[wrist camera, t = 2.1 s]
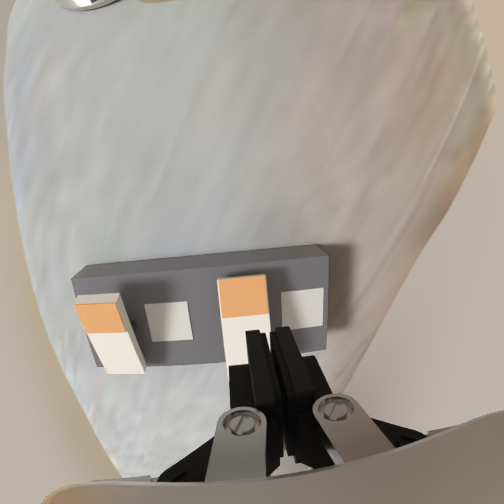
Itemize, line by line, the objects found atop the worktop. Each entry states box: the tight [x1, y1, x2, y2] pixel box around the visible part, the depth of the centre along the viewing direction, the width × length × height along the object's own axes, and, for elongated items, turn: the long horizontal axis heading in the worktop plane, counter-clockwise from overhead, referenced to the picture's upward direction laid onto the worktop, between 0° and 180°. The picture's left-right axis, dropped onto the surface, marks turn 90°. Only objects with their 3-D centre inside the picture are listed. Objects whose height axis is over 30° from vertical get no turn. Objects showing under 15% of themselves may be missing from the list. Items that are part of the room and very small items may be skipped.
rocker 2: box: [217, 274, 271, 382], centre depth 27 cm, size 9×4×1 cm, turn 4°
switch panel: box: [71, 245, 329, 367], centre depth 30 cm, size 10×24×6 cm, turn 94°
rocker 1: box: [74, 293, 146, 374], centre depth 26 cm, size 9×4×1 cm, turn 4°
